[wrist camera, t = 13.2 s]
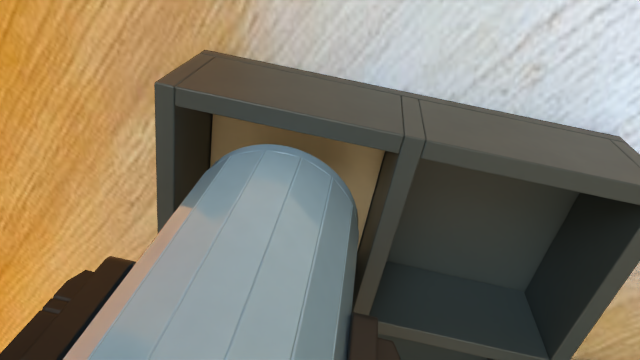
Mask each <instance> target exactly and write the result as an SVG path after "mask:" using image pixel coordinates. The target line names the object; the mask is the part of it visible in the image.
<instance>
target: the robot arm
mask: <svg viewBox="0 0 640 360" xmlns="http://www.w3.org/2000/svg"><path fill="white" fill-rule="evenodd" d="M135 264H136V262H134V261H130V260H125V259H121V258H116V257H112V256H110V257H108V258H106V259H105V260H104V261H103V263H102V264H101V265H100V266H99V267H98V268H97V270H96V271H95V272H92V271H87V270H85V271H83V272H82V273H80V274H78V275H77V276H75V277H73V278H71V279H70V280H68V281H67V282H66V283H65V284H64V285H63V286H62V287H61V288H60V289H59V290H58V291H57V293H56V294H55V295H54V297H53V299H50V300H49V301H48V302H47V303H46V305H45V306H44V307H43V309H42V311H39V312H38V313H37V314H36V315H35V316H34V318H33V319H32V320H31V321H30V322H29V323H28V324H27V325H26V326H25V327H24V328H23V330H22V331H21V332H20V333H19V334H18V335H17V336H16V337H15V338H14V339H13V340H12V341H11V343H10V344H9V345H8V346H7V347H6V348H5V349H4V350H3V351H2V352H1V353H0V360H63V358H64V357H65V356H66V354H67V353H68V352H69V350H70V349H71V348H72V346H73V345H74V344H75V342H76V341H77V340H78V339H79V337H80V336H81V335H82V333H83V332H84V331H85V329H86V328H87V327H88V325H89V324H90V323H91V321H92V320H93V319H94V317H95V316H96V315H97V314H98V312H99V311H100V310H101V308H102V307H103V306H104V304H105V303H106V302H107V300H108V299H109V298H110V296H111V295H112V294H113V292H114V291H115V290H116V289H117V287H118V286H119V285H120V283H121V282H122V281H123V279H124V278H125V277H126V275H127V274H128V273H129V271H130V270H131V269H132V267H133V266H134V265H135ZM347 360H401V358H400V355H399V353H398V351H397V349H396V347H395V344H394V342H393V341H391V340H387V339H382V338H378V318H377V317H374V316H369V315H365V314H360V313H356V312H352V313H351V319H350V329H349V339H348V349H347Z"/></svg>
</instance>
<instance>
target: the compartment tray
mask: <svg viewBox="0 0 640 360" xmlns="http://www.w3.org/2000/svg"><path fill="white" fill-rule="evenodd" d="M155 127H156V173H157V219H158V233H159V232H160V231H161V229H162V228H163V227H164V225H165V224H166V223H167V221H168V220H169V219H170V218H171V216H172V215H173V214H174V212H175V211H176V210H177V208H178V207H179V206H180V204H181V203H182V202H183V200H184V199H185V198H186V196H187V195H188V194H189V193H190V191H191V190H192V189H193V187H194V186H195V185H196V183H197V182H198V181H199V179H200V178H201V177H202V175H203V174H204V173H205V172H206V171H207V170H209V168H210V167H211V166H212V165H213V164H214V163H215V162H216V161H217V160H219V159H220V158H221V157H223V156H224V155H226V154H228V153H230V152H232V151H234V150H237V149H239V148H242V147H247V146H251V145H260V144H276V145H283V146H288V147H292V148H295V149H299V150H301V151H304V152H306V153H309V154H311V155H313V156H314V157H316V158H318V159H320V160H321V161H323V162H324V163H325V164H327V165H328V166H329V167H330V168H332V169H333V170H334V171H335V172H336V173H337V174H338V175H339V176H340V178H341V179H342V180H343V181H344V182H345V184H346V185H347V187H348V189H349V190H350V192H351V194H352V196H353V198H354V201H355V204H356V207H357V212H358V229H359V239H358V250H357V261H356V271H355V282H354V292H353V303H352V312H356V313H360V314H365V315H369V316H374V317H377V318H378V338H382V339H387V340H391V341H393V342H394V344H395V347H396V349H397V351H398V353H399V355H400V358H401V360H570V359H571V358H572V356H573V355H574V353H575V352H576V350H577V349H578V348H579V346H580V345H581V343H582V342H583V341H584V339H585V338H586V336H587V335H588V333H589V332H590V331H591V329H592V328H593V326H594V325H595V324H596V322H597V321H598V319H599V318H600V316H601V315H602V314H603V312H604V311H605V309H606V308H607V307H608V305H609V304H610V302H611V301H612V299H613V298H614V297H615V295H616V294H617V292H618V291H619V290H620V288H621V287H622V285H623V284H624V283H625V281H626V280H627V278H628V277H629V275H630V274H631V273H632V271H633V270H634V268H635V267H636V266H637V264H638V263H639V261H640V154H638V153H637V152H636V151H635V150H634V149H633V148H632V147H630V146H629V145H628V144H627V143H626V142H625V141H624V140H623V139H622V138H620V137H618V136H613V135H609V134H604V133H599V132H594V131H589V130H585V129H580V128H575V127H570V126H566V125H561V124H556V123H551V122H547V121H542V120H537V119H532V118H527V117H523V116H518V115H513V114H508V113H504V112H499V111H494V110H489V109H484V108H480V107H475V106H470V105H465V104H461V103H456V102H451V101H446V100H442V99H437V98H432V97H427V96H422V95H418V94H413V93H408V92H403V91H399V90H394V89H389V88H384V87H379V86H375V85H370V84H365V83H360V82H356V81H351V80H346V79H341V78H337V77H332V76H327V75H322V74H317V73H313V72H308V71H303V70H298V69H294V68H289V67H284V66H279V65H274V64H270V63H265V62H260V61H255V60H251V59H246V58H241V57H236V56H232V55H227V54H222V53H217V52H212V51H208V50H204V51H202V52H201V53H200V54H198V55H196V56H195V57H193V58H192V59H190V60H189V61H187V62H186V63H184V64H182V65H181V66H179V67H178V68H176V69H175V70H173V71H172V72H170V73H169V74H167V75H166V76H164V77H162V78H161V79H159V80H158V81H156V82H155Z"/></svg>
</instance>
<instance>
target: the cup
mask: <svg viewBox="0 0 640 360" xmlns="http://www.w3.org/2000/svg"><path fill="white" fill-rule="evenodd" d="M358 239H359V229H358V212H357V207H356V204H355V201H354V198H353V196H352V194H351V192H350V190H349V189H348V187H347V185H346V184H345V182H344V181H343V180H342V179H341V178H340V176H339V175H338V174H337V173H336V172H335V171H334V170H333V169H332V168H330V167H329V166H328V165H327V164H325V163H324V162H323V161H321V160H320V159H318V158H316V157H314V156H313V155H311V154H309V153H306V152H304V151H301V150H299V149H295V148H292V147H288V146H283V145H276V144H260V145H251V146H247V147H242V148H239V149H237V150H234V151H232V152H230V153H228V154H226V155H224V156H223V157H221V158H220V159H219V160H217V161H216V162H215V163H214V164H213V165H212V166H211V167H210V168H209V170H207V171H206V172H205V173H204V174H203V175H202V177H201V178H200V179H199V181H198V182H197V183H196V185H195V186H194V187H193V189H192V190H191V191H190V193H189V194H188V195H187V196H186V198H185V199H184V200H183V202H182V203H181V204H180V206H179V207H178V208H177V210H176V211H175V212H174V214H173V215H172V216H171V218H170V219H169V220H168V221H167V223H166V224H165V225H164V227H163V228H162V229H161V231H160V232H159V233H158V235H157V236H156V237H155V239H154V240H153V241H152V243H151V244H150V245H149V246H148V248H147V249H146V250H145V252H144V253H143V254H142V256H141V257H140V258H139V260H138V261H137V262H136V264H135V265H134V266H133V267H132V269H131V270H130V271H129V273H128V274H127V275H126V277H125V278H124V279H123V281H122V282H121V283H120V285H119V286H118V287H117V289H116V290H115V291H114V292H113V294H112V295H111V296H110V298H109V299H108V300H107V302H106V303H105V304H104V306H103V307H102V308H101V310H100V311H99V312H98V314H97V315H96V316H95V317H94V319H93V320H92V321H91V323H90V324H89V325H88V327H87V328H86V329H85V331H84V332H83V333H82V335H81V336H80V337H79V339H78V340H77V341H76V342H75V344H74V345H73V346H72V348H71V349H70V350H69V352H68V353H67V354H66V356H65V357H64V358H63V360H347V349H348V339H349V329H350V319H351V313H352V303H353V292H354V282H355V271H356V261H357V250H358Z"/></svg>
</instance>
